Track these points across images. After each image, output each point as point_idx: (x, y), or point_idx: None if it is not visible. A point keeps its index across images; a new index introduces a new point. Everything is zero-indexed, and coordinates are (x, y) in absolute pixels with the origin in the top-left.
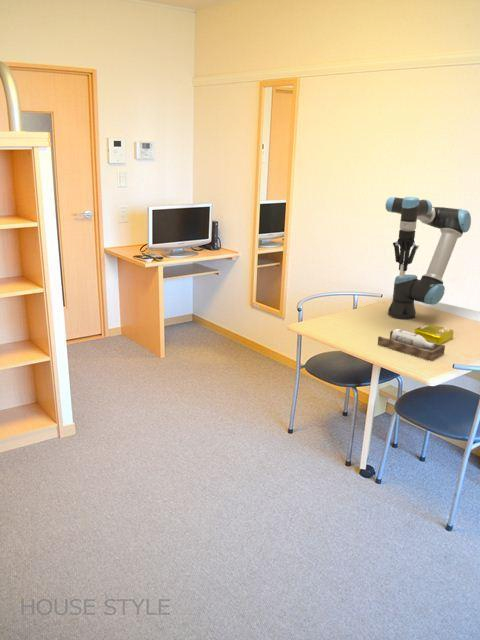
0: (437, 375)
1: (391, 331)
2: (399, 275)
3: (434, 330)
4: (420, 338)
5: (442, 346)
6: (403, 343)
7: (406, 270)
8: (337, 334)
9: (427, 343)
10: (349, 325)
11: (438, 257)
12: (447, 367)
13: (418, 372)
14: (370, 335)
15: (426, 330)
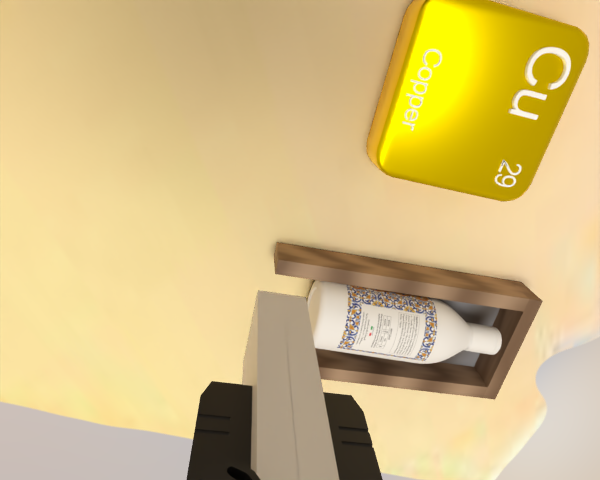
0: (506, 456)
1: (279, 271)
2: (243, 380)
3: (483, 113)
4: (447, 357)
5: (531, 316)
6: (373, 376)
7: (353, 409)
8: (47, 339)
9: (474, 351)
10: (5, 188)
11: None
12: (535, 390)
13: (450, 468)
14: (177, 264)
15: (441, 142)
